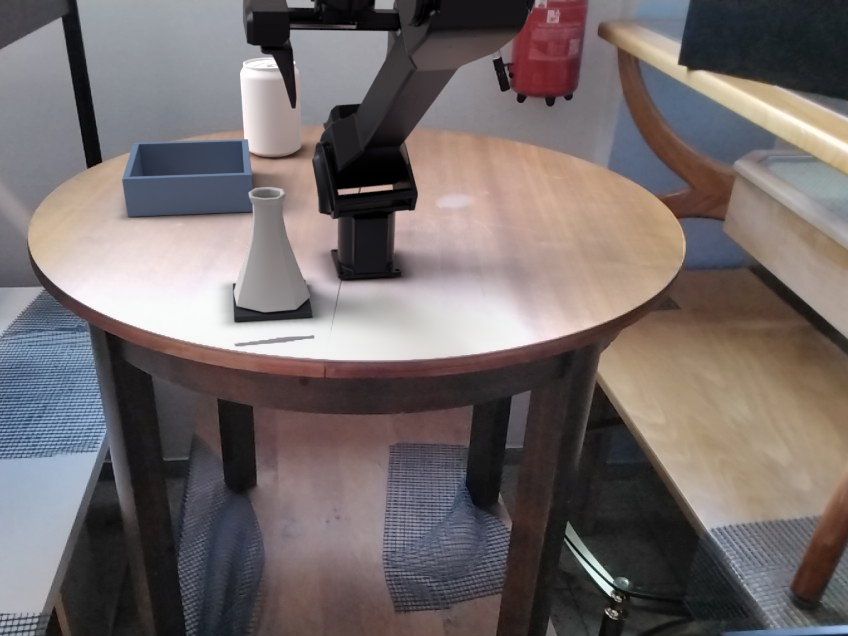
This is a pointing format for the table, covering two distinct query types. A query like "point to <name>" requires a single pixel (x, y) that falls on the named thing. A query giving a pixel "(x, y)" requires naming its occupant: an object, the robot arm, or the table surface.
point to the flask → (269, 259)
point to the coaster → (254, 315)
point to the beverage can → (269, 109)
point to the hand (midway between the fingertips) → (337, 106)
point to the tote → (188, 178)
